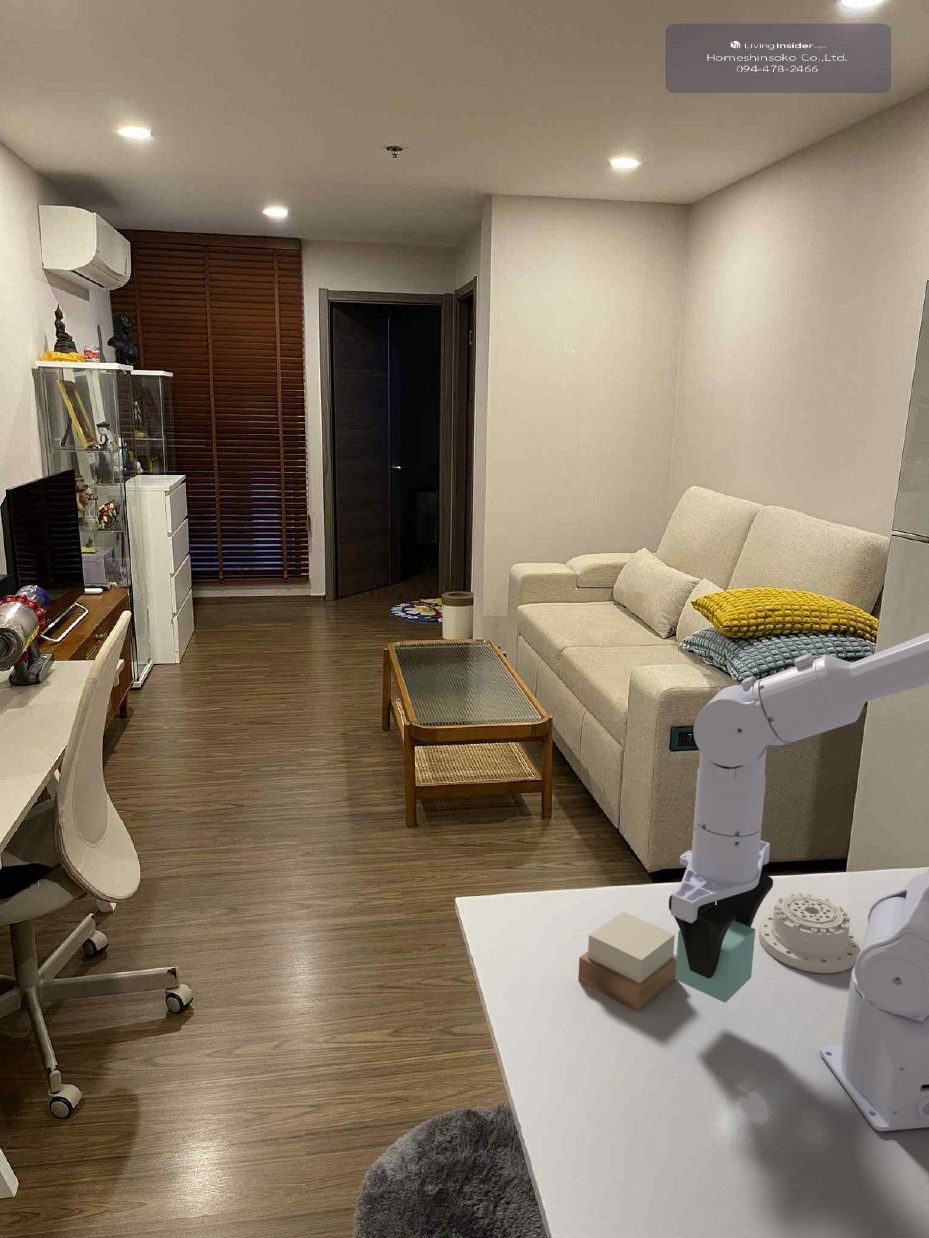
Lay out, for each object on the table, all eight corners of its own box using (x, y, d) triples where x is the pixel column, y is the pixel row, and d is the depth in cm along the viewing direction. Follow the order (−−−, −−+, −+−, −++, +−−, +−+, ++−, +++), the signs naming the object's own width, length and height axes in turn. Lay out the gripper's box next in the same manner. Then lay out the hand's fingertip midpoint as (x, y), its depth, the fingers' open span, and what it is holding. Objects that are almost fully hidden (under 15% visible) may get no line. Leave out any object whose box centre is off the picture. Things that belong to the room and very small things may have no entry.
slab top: (673, 956, 92) (674, 934, 92) (640, 983, 88) (641, 959, 87) (621, 933, 96) (623, 911, 96) (587, 957, 92) (588, 934, 91)
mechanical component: (774, 974, 94) (873, 977, 94) (779, 936, 93) (879, 938, 93) (747, 920, 104) (837, 922, 104) (751, 884, 103) (842, 886, 103)
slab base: (676, 983, 93) (678, 956, 92) (638, 1015, 88) (640, 988, 87) (617, 954, 98) (619, 928, 97) (578, 983, 93) (579, 957, 92)
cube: (751, 977, 86) (755, 929, 85) (725, 1002, 82) (729, 952, 81) (701, 956, 89) (705, 908, 88) (675, 979, 86) (678, 930, 84)
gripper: (725, 784, 90) (715, 911, 93) (643, 835, 79) (635, 975, 83) (796, 806, 85) (783, 939, 88) (719, 862, 75) (707, 1011, 78)
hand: (716, 959), depth 85 cm, fingers closed on cube, 5 cm apart
